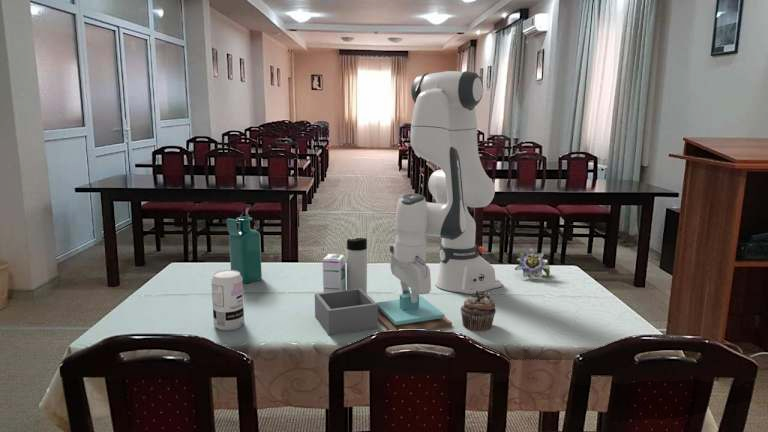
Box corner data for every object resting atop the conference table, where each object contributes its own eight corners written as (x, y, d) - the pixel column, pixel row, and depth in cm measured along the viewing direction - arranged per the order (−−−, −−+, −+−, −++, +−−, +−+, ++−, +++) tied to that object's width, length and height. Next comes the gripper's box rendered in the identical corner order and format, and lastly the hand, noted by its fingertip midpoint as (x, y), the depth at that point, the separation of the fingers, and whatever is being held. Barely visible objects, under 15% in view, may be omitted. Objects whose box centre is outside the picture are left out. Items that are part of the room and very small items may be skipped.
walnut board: (423, 304, 178) (423, 300, 177) (451, 326, 161) (451, 322, 161) (369, 311, 171) (369, 307, 171) (392, 335, 155) (392, 331, 155)
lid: (421, 302, 176) (421, 284, 174) (444, 320, 162) (445, 300, 161) (375, 309, 170) (375, 289, 169) (395, 328, 157) (395, 307, 155)
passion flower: (530, 293, 204) (513, 269, 199) (523, 278, 214) (507, 254, 209) (558, 278, 201) (542, 252, 197) (550, 263, 211) (534, 239, 207)
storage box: (360, 310, 172) (360, 288, 171) (377, 328, 160) (377, 304, 158) (315, 316, 167) (314, 293, 166) (328, 335, 154) (328, 310, 153)
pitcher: (247, 273, 205) (245, 213, 200) (264, 278, 200) (262, 216, 195) (225, 280, 197) (222, 218, 192) (242, 285, 192) (239, 221, 187)
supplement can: (217, 320, 164) (214, 269, 161) (246, 319, 165) (244, 269, 161) (211, 331, 156) (208, 279, 153) (242, 331, 157) (239, 278, 153)
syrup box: (341, 305, 176) (341, 259, 173) (322, 303, 177) (322, 258, 174) (346, 298, 182) (346, 254, 179) (328, 297, 183) (327, 253, 180)
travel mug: (352, 304, 177) (352, 241, 173) (343, 297, 183) (343, 236, 178) (370, 301, 180) (370, 239, 175) (361, 294, 185) (361, 234, 181)
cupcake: (490, 318, 167) (492, 286, 165) (497, 332, 158) (499, 298, 155) (457, 318, 167) (458, 286, 165) (463, 332, 157) (464, 298, 155)
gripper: (437, 261, 154) (435, 310, 157) (406, 242, 172) (405, 286, 175) (415, 263, 151) (414, 313, 154) (386, 244, 170) (386, 288, 173)
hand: (409, 298), depth 165 cm, fingers open, 4 cm apart
